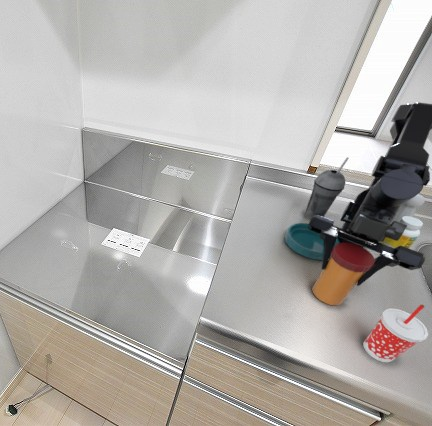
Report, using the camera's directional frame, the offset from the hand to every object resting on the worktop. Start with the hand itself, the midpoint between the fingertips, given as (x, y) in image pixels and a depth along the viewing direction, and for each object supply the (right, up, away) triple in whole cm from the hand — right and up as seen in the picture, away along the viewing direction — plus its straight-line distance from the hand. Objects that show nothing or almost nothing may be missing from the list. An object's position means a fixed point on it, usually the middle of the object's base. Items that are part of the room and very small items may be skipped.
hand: (339, 277), depth 61 cm
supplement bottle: (+27, +4, +17) cm, 32 cm away
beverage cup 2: (+3, -13, -5) cm, 14 cm away
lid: (+1, +5, -3) cm, 6 cm away
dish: (+6, +5, +18) cm, 20 cm away
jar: (+1, -5, +5) cm, 7 cm away
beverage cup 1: (+14, +12, +29) cm, 34 cm away
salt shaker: (+30, +7, +21) cm, 38 cm away
